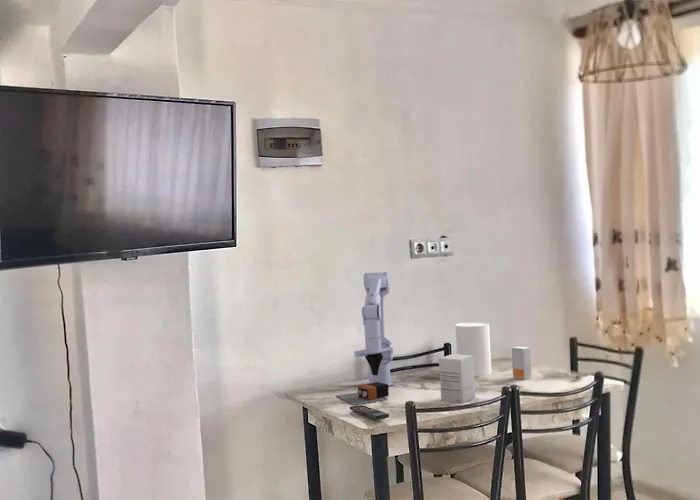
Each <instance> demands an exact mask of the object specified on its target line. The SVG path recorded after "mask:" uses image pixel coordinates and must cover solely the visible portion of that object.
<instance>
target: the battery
mask: <svg viewBox="0 0 700 500" xmlns="http://www.w3.org/2000/svg"><path fill="white" fill-rule="evenodd" d="M356 393H357V394H358V397H359V398H362V399H366V400H373V399H377V398H382V397H384V398H385V397H389V386H388V384H384V383H379V382H375V383H370V384H367V383H366V384H360V385H358V386H357V391H356Z"/></svg>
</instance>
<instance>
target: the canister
mask: <svg viewBox="0 0 700 500" xmlns="http://www.w3.org/2000/svg"><path fill="white" fill-rule="evenodd" d="M490 336H491V334H490V323H489V322H485V321H469V322H460V323H456V324H455V339H456V341H455V343H456V354H458V355H472V356H473V367H474V377H484V375H485V376H488V375H491V374H492V355H491V339H490V338H491V337H490Z"/></svg>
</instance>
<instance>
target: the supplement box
mask: <svg viewBox="0 0 700 500" xmlns="http://www.w3.org/2000/svg"><path fill="white" fill-rule="evenodd" d="M438 367H439V382H440V383H439V384H440V399H441V400H440V401H441V402H452V403H458V404H459V403H461V404H464V403H466V402H468V401H471V400H473V399H475V398H476V386H475V385H476V384H475V376H474V367H473V356H472V355H458V354H457V353H455V354H454V353H452V354H451V353H450V354H449V355H446V356H443V357H439V358H438Z"/></svg>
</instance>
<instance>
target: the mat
mask: <svg viewBox="0 0 700 500" xmlns="http://www.w3.org/2000/svg"><path fill="white" fill-rule="evenodd" d="M335 396H336V398H337V399H340V400H341V401H344V402H346V403H348V404H350V405H351V406H353V405H354V406H360V405H359V404H361V405H366V404H365V403H368V404H372V403H371V402H374V403H377V402H376V401H381V402H384V401H383V400H387V401H388V398H385V397H382V398H377V399H373V400H366V399H362V398H359V397H358V394H357V392H351V393H345V394H344V393H343V394H337V395H335Z"/></svg>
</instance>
